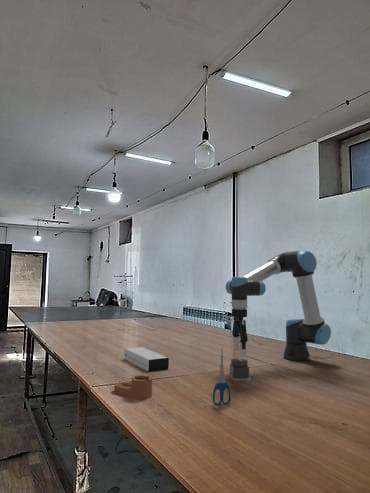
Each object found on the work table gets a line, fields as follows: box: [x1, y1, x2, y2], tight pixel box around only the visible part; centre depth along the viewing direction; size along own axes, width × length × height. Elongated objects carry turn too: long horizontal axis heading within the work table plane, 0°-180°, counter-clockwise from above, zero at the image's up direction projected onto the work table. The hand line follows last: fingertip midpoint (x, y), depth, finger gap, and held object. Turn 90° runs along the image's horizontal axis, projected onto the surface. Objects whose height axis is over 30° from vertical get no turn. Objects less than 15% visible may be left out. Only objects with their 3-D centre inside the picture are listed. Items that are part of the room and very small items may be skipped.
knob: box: [229, 356, 250, 377], centre depth 175 cm, size 8×8×8 cm
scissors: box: [212, 350, 232, 406], centre depth 137 cm, size 7×1×20 cm, turn 105°
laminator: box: [123, 346, 170, 372], centre depth 200 cm, size 34×12×6 cm, turn 30°
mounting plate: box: [227, 371, 252, 382], centre depth 175 cm, size 8×12×5 cm, turn 6°
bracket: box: [113, 374, 153, 400], centre depth 149 cm, size 18×8×7 cm, turn 53°
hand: (239, 353), depth 176 cm, fingers open, 13 cm apart
